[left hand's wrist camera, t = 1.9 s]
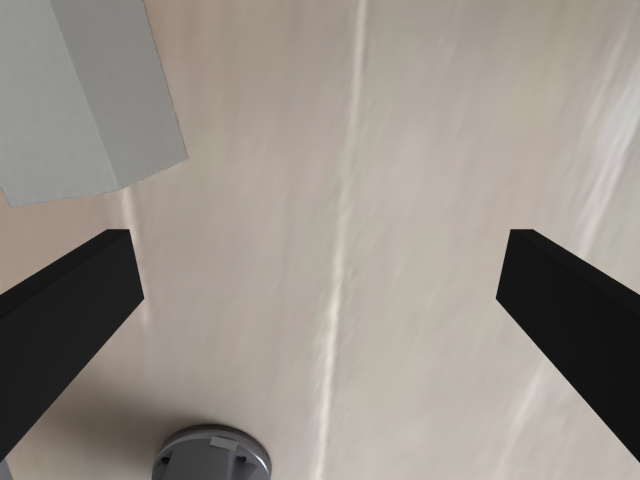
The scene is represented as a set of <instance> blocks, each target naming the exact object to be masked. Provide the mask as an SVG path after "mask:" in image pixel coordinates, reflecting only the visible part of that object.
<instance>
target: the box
mask: <svg viewBox="0 0 640 480" xmlns="http://www.w3.org/2000/svg"><path fill="white" fill-rule="evenodd" d="M185 160H188V156H187V153H186V149H185V146H184V142H183V139H182V135H181V132H180V128H179V125H178V122H177V118H176V115H175V111H174V108H173V104H172V101H171V98H170V94H169V91H168V87H167V84H166V80H165V77H164V73H163V70H162V67H161V63H160V60H159V56H158V53H157V49H156V46H155V43H154V39H153V36H152V32H151V29H150V25H149V22H148V18H147V15H146V12H145V8H144V5H143V1H142V0H0V187H1V189H2V191H3V193H4V195H5V197H6V199H7V201H8V203H9V205H10V207H16V206H23V205H29V204H36V203H42V202H48V201H55V200H61V199H68V198H74V197H81V196H87V195H94V194H100V193H106V192H113V191H119V190H122V189H124V188H126V187H128V186H131V185H133V184H135V183H137V182H139V181H142V180H144V179H146V178H148V177H150V176H152V175H155V174H157V173H159V172H161V171H163V170H166V169H168V168H170V167H172V166H174V165H177V164H179V163H181V162H183V161H185Z"/></svg>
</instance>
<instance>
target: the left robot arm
mask: <svg viewBox="0 0 640 480" xmlns="http://www.w3.org/2000/svg"><path fill="white" fill-rule="evenodd" d="M143 300H144V295H143V290H142V285H141V281H140V276H139V272H138V267H137V262H136V258H135V253H134V248H133V244H132V239H131V235H130V230H129V229H107V230H105V231H104V232H102V233H100V234H99V235H97V236H95V237H94V238H92V239H91V240H89V241H87V242H86V243H84V244H82V245H81V246H79V247H77V248H76V249H74V250H73V251H71V252H69V253H68V254H66V255H64V256H63V257H61V258H60V259H58V260H56V261H55V262H53V263H51V264H50V265H48V266H47V267H45V268H43V269H42V270H40V271H38V272H37V273H35V274H34V275H32V276H30V277H29V278H27V279H25V280H24V281H22V282H21V283H19V284H17V285H16V286H14V287H12V288H11V289H9V290H8V291H6V292H4V293H3V294H1V295H0V462H1V461H2V460H3V459H4V458H5V457H6V456H7V454H8V453H9V452H10V451H11V450H12V449H13V448H14V447H15V445H16V444H17V443H18V442H19V441H20V440H21V439H22V437H23V436H24V435H25V434H26V433H27V432H28V431H29V429H30V428H31V427H32V426H33V425H34V424H35V423H36V421H37V420H38V419H39V418H40V417H41V416H42V415H43V413H44V412H45V411H46V410H47V409H48V408H49V407H50V405H51V404H52V403H53V402H54V401H55V400H56V399H57V398H58V396H59V395H60V394H61V393H62V392H63V391H64V390H65V388H66V387H67V386H68V385H69V384H70V383H71V382H72V380H73V379H74V378H75V377H76V376H77V375H78V374H79V372H80V371H81V370H82V369H83V368H84V367H85V366H86V364H87V363H88V362H89V361H90V360H91V359H92V358H93V357H94V355H95V354H96V353H97V352H98V351H99V350H100V349H101V347H102V346H103V345H104V344H105V343H106V342H107V341H108V339H109V338H110V337H111V336H112V335H113V334H114V333H115V331H116V330H117V329H118V328H119V327H120V326H121V325H122V323H123V322H124V321H125V320H126V319H127V318H128V317H129V315H130V314H131V313H132V312H133V311H134V310H135V309H136V308H137V306H138V305H139V304H140V303H141V302H142V301H143ZM496 300H497V301H498V302H499V303H500V304H501V305H502V306H503V308H504V309H505V310H506V311H507V312H508V313H509V314H510V315H511V317H512V318H513V319H514V320H515V321H516V322H517V323H518V325H519V326H520V327H521V328H522V329H523V330H524V331H525V333H526V334H527V335H528V336H529V337H530V338H531V339H532V341H533V342H534V343H535V344H536V345H537V346H538V347H539V349H540V350H541V351H542V352H543V353H544V354H545V355H546V357H547V358H548V359H549V360H550V361H551V362H552V363H553V364H554V366H555V367H556V368H557V369H558V370H559V371H560V372H561V374H562V375H563V376H564V377H565V378H566V379H567V380H568V382H569V383H570V384H571V385H572V386H573V387H574V388H575V390H576V391H577V392H578V393H579V394H580V395H581V396H582V398H583V399H584V400H585V401H586V402H587V403H588V404H589V405H590V407H591V408H592V409H593V410H594V411H595V412H596V413H597V415H598V416H599V417H600V418H601V419H602V420H603V421H604V423H605V424H606V425H607V426H608V427H609V428H610V429H611V431H612V432H613V433H614V434H615V435H616V436H617V437H618V439H619V440H620V441H621V442H622V443H623V444H624V445H625V447H626V448H627V449H628V450H629V451H630V452H631V453H632V454H633V456H634V457H635V458H636V459H637V460H638V461H639V462H640V295H639V294H637V293H636V292H634V291H632V290H631V289H629V288H628V287H626V286H624V285H623V284H621V283H619V282H618V281H616V280H615V279H613V278H611V277H610V276H608V275H606V274H605V273H603V272H602V271H600V270H598V269H597V268H595V267H593V266H592V265H590V264H589V263H587V262H585V261H584V260H582V259H580V258H579V257H577V256H576V255H574V254H572V253H571V252H569V251H567V250H566V249H564V248H563V247H561V246H559V245H558V244H556V243H554V242H553V241H551V240H549V239H548V238H546V237H545V236H543V235H541V234H540V233H538V232H536V231H535V230H533V229H511V230H510V235H509V239H508V244H507V248H506V253H505V258H504V262H503V267H502V272H501V276H500V281H499V285H498V290H497V295H496Z"/></svg>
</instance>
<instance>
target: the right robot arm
mask: <svg viewBox="0 0 640 480" xmlns="http://www.w3.org/2000/svg"><path fill="white" fill-rule="evenodd" d="M271 470H272V467H271V461H270V458H269V456H268V454H267V452H266V451H265V449H264V448H263V447H262V446H261V445H260V444H259V443H258V442H257V441H255V440H254V439H253V438H251V437H250V436H248V435H246V434H244V433H242V432H240V431H237V430H234V429H231V428H227V427H222V426H213V425H204V426H195V427H190V428H187V429H184V430H181V431H179V432H177V433H175V434H174V435H172V436H171V437H170V438H168V439H167V440H166V441H165V443H164V444H163V445H162V447H161V449H160V451H159V454H158V456H157V458H156V460H155V462H154V465H153V472H152V480H270V479H271Z"/></svg>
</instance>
